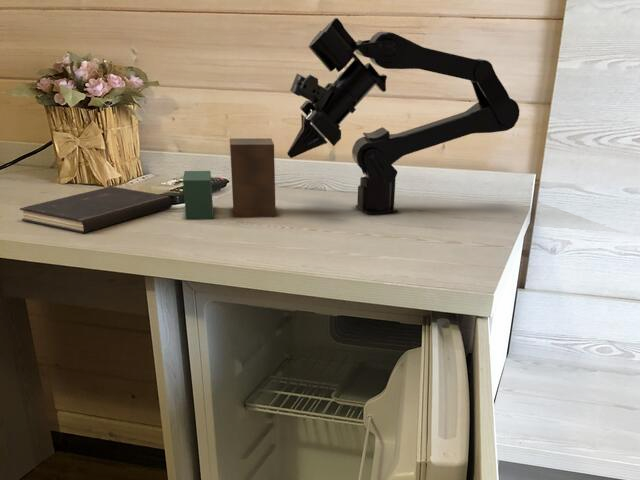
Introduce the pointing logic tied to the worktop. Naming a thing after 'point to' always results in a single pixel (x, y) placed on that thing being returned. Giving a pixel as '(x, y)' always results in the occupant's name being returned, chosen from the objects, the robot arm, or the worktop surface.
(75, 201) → the hardcover book
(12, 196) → the worktop surface
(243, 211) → the walnut block
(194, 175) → the green block
